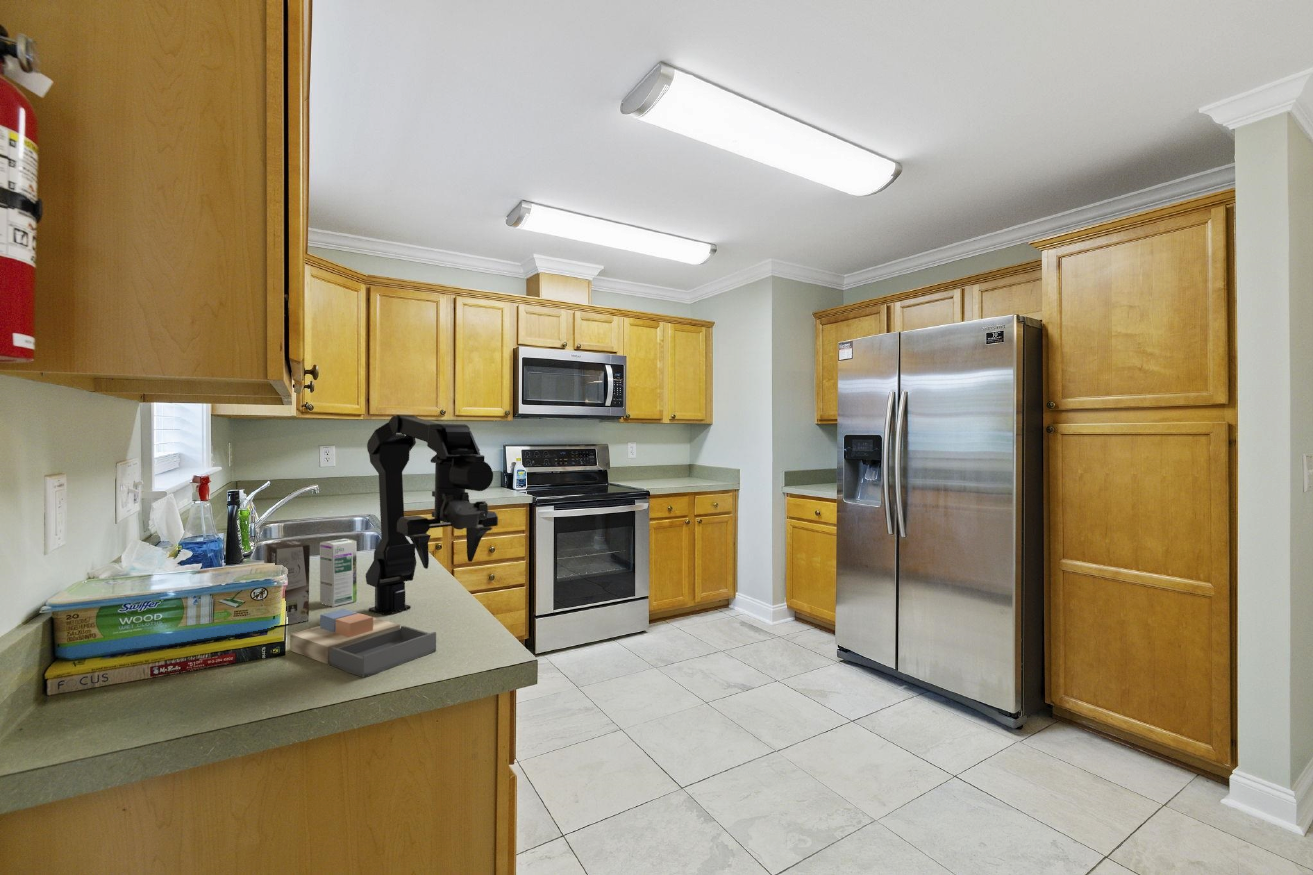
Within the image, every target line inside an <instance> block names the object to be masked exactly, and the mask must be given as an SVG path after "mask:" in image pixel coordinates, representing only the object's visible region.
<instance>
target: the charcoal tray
mask: <svg viewBox="0 0 1313 875" xmlns="http://www.w3.org/2000/svg"><path fill="white" fill-rule="evenodd" d="M435 652H437V632H436V631H432V632H426V631H423V630H420V629H416V628H413V627H409V626H405V625H400V629H396V630H393V631H390V632H387V633H383V634H380V635H377V636H374V637H371V638H367V639H364V640H361V641H358V642H354V643H351V644H348V645H345V646H342V647H338V648H335V647H333V648H331V650H329V664H328V665H329V666H331V667H333V668H336V669H339V670H343V671H345V672H347V673H350V674H353V675H356V676H358V677H360V678H368V677H371V676H373V675H376V674H379V673H381V672H384V671H387V670H390V669H392V668H394V667H397V666H399V665H404V664H405V663H408V662H411V661H414V660H417V659H418V658H422V657H424V656H427V655H430V654H433V653H435Z"/></svg>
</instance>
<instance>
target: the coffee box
mask: <svg viewBox="0 0 1313 875" xmlns="http://www.w3.org/2000/svg"><path fill="white" fill-rule="evenodd" d="M263 549H264V550H263V555H264V557H263V561H264V562H263V564H264V563H275V565H283V566H284V567H286V568H287V569H288V574H287V577H288V585H287V586H286V589H285V601H286V611H287V617H288V624H289V625H293V624H299V623H298V622H300V623H304V622H303V621H306V622H308V621H309V619H310V615H309V614H310V566H311V565H310V564H311V563H310V560H311V559H310V557H311V556H310V554H311V553H310V552H311V545H310V544H308V543H305V542H303V541H300V540H297V539H291V540H282V541H277V542H270V543H264V544H263ZM307 620H308V621H307Z"/></svg>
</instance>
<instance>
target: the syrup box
mask: <svg viewBox="0 0 1313 875" xmlns="http://www.w3.org/2000/svg"><path fill="white" fill-rule="evenodd" d="M357 548H358V547H357V540H355V539H351V538H341V539H335V540H334V539H333V540H328V541H327V540H326V541H321V542H320V543H319V602H320V604H322V603H323V604H322V605H324V604H326V605H325V606H327V605H328V607H330V606H332V607H331V608H335V607H338V606H342V605H346V604H351V603H356V602H357V597H358V596H357V594H358V592H357V590H358V589H357V588H358V587H357V575H358V574H357V563H358V562H357V554H358V553H357V552H358V551H357Z"/></svg>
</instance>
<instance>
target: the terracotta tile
mask: <svg viewBox="0 0 1313 875" xmlns="http://www.w3.org/2000/svg"><path fill="white" fill-rule="evenodd" d="M373 617H374V616H370V615H367V614H363V613H360V612H359V613H358V612H357V614H354V615H350V616H346V617H342V618H339V619H336V631H335V633H337V634H341V635H344V636H347V637H353V636H357V635H360V634H363V633H366V632H370V631H373Z"/></svg>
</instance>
